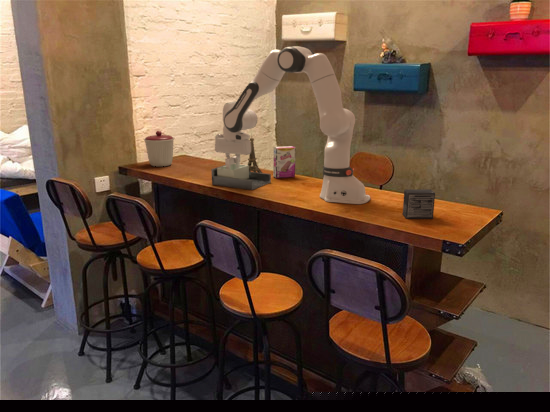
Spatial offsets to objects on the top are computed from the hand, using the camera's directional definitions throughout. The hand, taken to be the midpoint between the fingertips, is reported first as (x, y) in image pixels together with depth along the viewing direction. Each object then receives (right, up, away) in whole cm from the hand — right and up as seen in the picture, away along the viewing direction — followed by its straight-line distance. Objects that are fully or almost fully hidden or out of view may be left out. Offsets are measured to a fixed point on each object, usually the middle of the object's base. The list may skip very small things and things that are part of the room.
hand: (232, 162), depth 230 cm
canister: (-49, +2, +48) cm, 68 cm away
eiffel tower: (+9, -6, +17) cm, 20 cm away
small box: (+77, -27, -53) cm, 98 cm away
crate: (0, -9, +3) cm, 9 cm away
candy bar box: (+26, -7, +15) cm, 31 cm away
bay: (+4, -11, +1) cm, 12 cm away
